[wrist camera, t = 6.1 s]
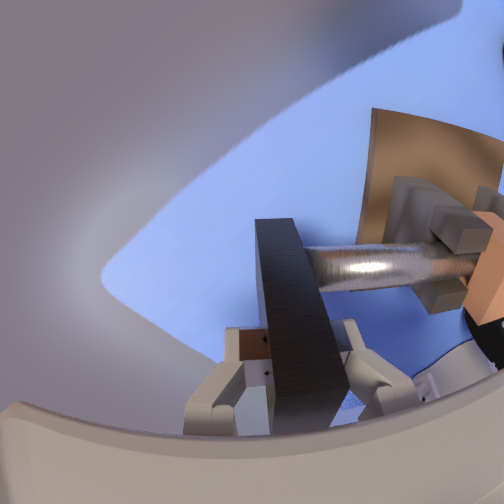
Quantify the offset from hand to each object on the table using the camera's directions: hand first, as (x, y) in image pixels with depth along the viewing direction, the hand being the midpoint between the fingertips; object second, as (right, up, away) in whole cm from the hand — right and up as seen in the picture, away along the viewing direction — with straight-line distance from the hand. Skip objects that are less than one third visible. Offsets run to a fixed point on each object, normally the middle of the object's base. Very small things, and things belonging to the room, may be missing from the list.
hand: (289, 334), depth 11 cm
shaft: (+6, +4, +5) cm, 9 cm away
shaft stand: (+15, +7, +11) cm, 20 cm away
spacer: (+15, +4, +6) cm, 16 cm away
